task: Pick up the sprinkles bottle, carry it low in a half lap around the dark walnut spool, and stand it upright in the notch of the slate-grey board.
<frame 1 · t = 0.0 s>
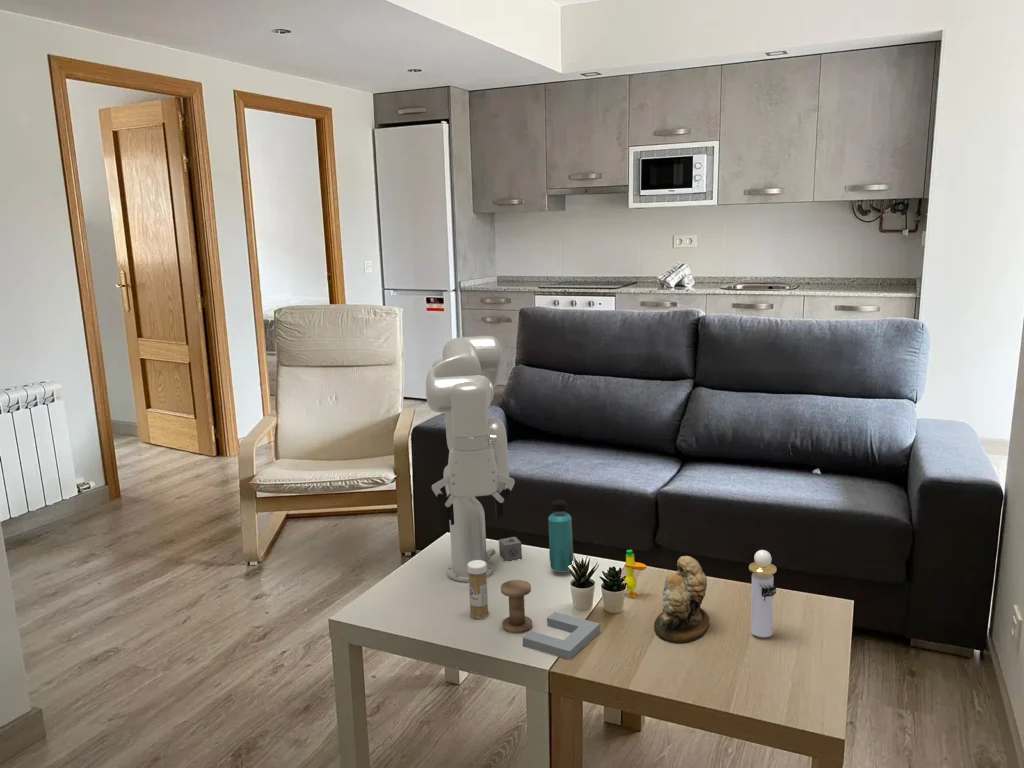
hand: (475, 520, 166), 31 cm above the table, tool pointing down, fingers open, 9 cm apart
notched board: (562, 638, 178), on the table
spool: (517, 626, 185), on the table
perfume bottle: (761, 636, 176), on the table
beverage bottle: (561, 573, 213), on the table
sprinkles bottle: (479, 616, 191), on the table
toy figure: (633, 597, 197), on the table
dice cube: (510, 558, 225), on the table
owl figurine: (682, 626, 182), on the table
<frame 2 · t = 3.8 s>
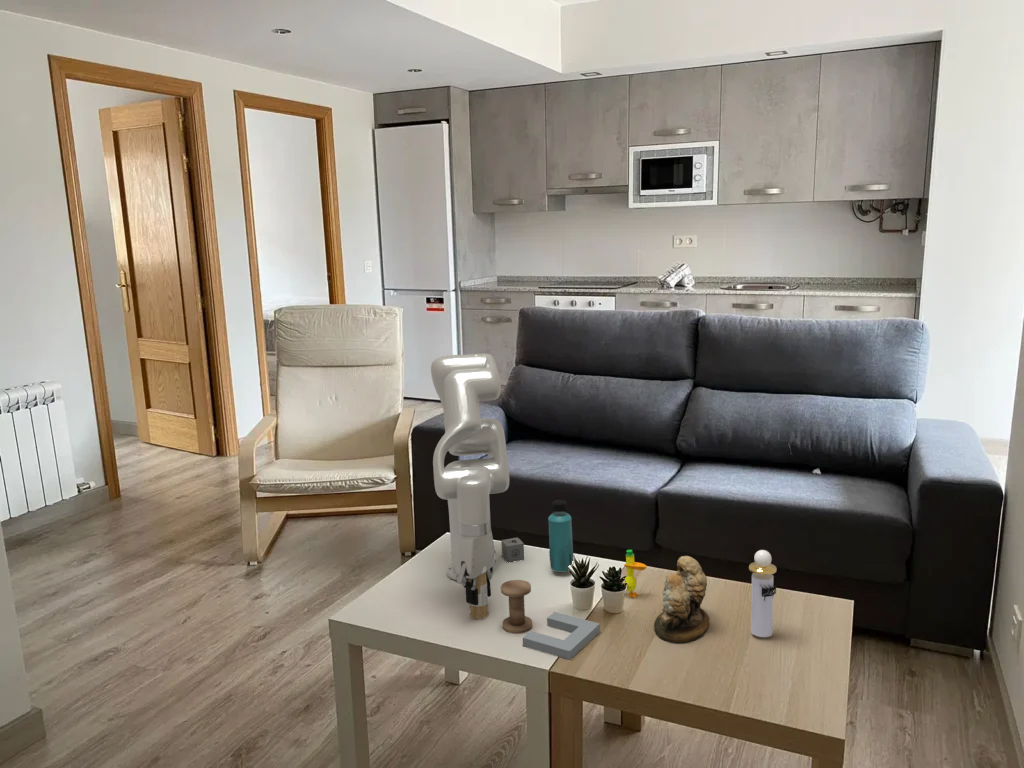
hand: (478, 598, 190), 4 cm above the table, tool pointing down, fingers closed on sprinkles bottle, 4 cm apart
sprinkles bottle: (479, 616, 191), on the table, touching gripper
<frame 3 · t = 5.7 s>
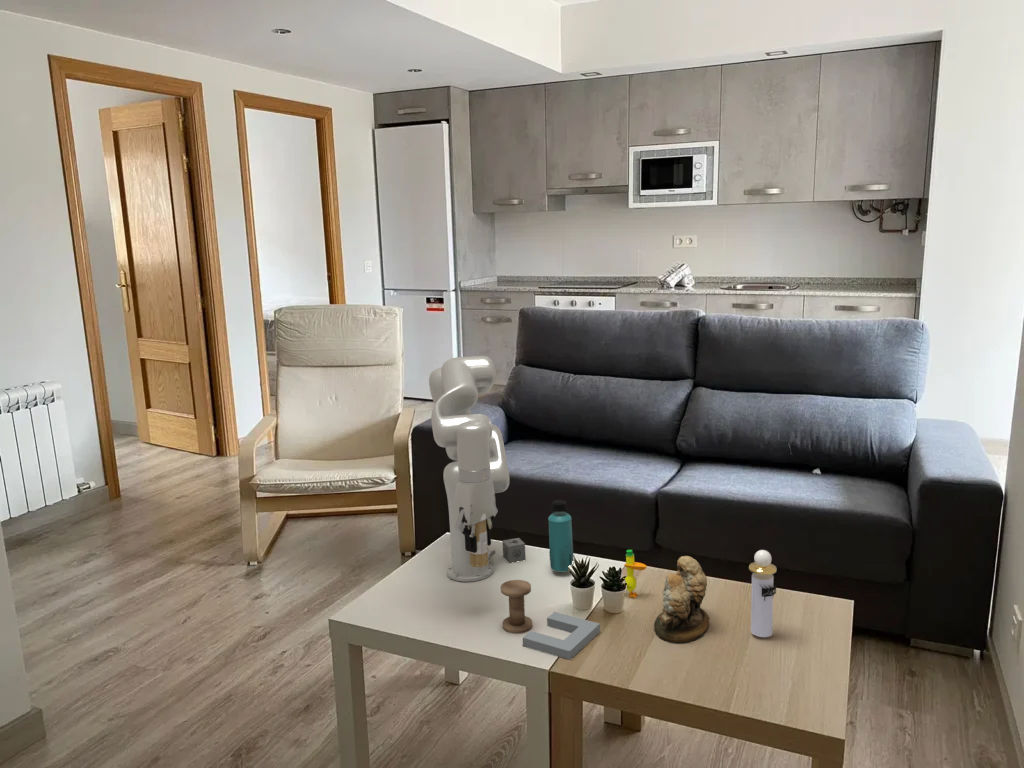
hand: (478, 547, 188), 17 cm above the table, tool pointing down, fingers closed on sprinkles bottle, 4 cm apart
sprinkles bottle: (479, 565, 189), point 13 cm above the table, touching gripper
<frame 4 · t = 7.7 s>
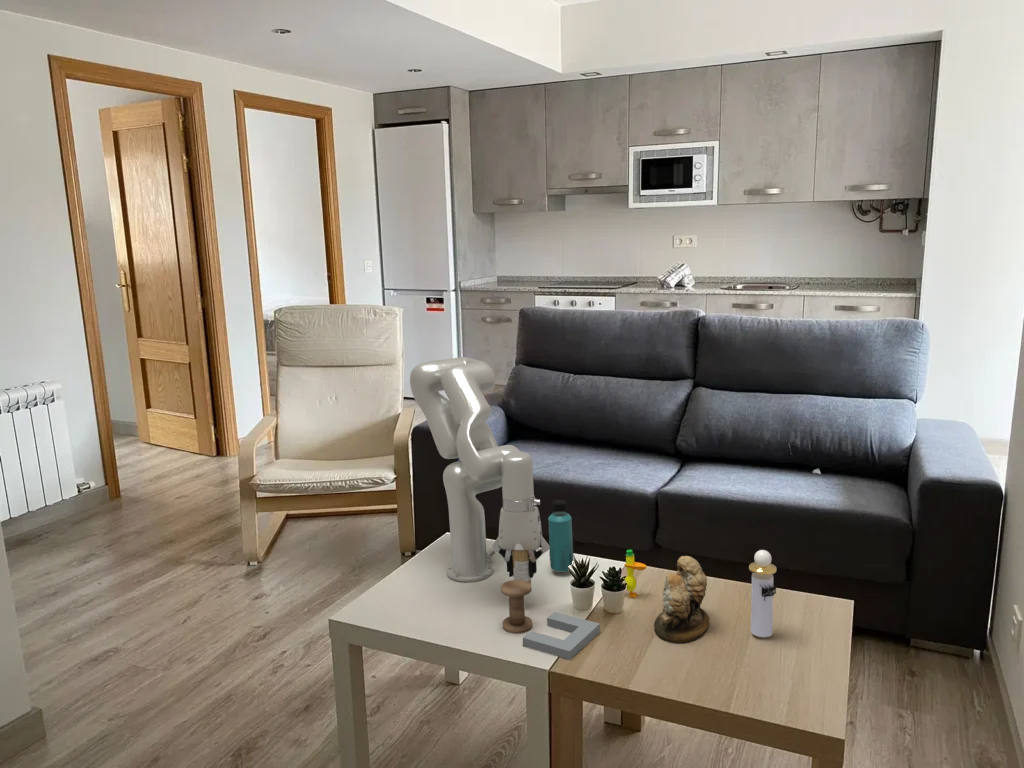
hand: (522, 574, 193), 8 cm above the table, tool pointing down, fingers closed on sprinkles bottle, 4 cm apart
sprinkles bottle: (522, 591, 194), point 4 cm above the table, touching gripper
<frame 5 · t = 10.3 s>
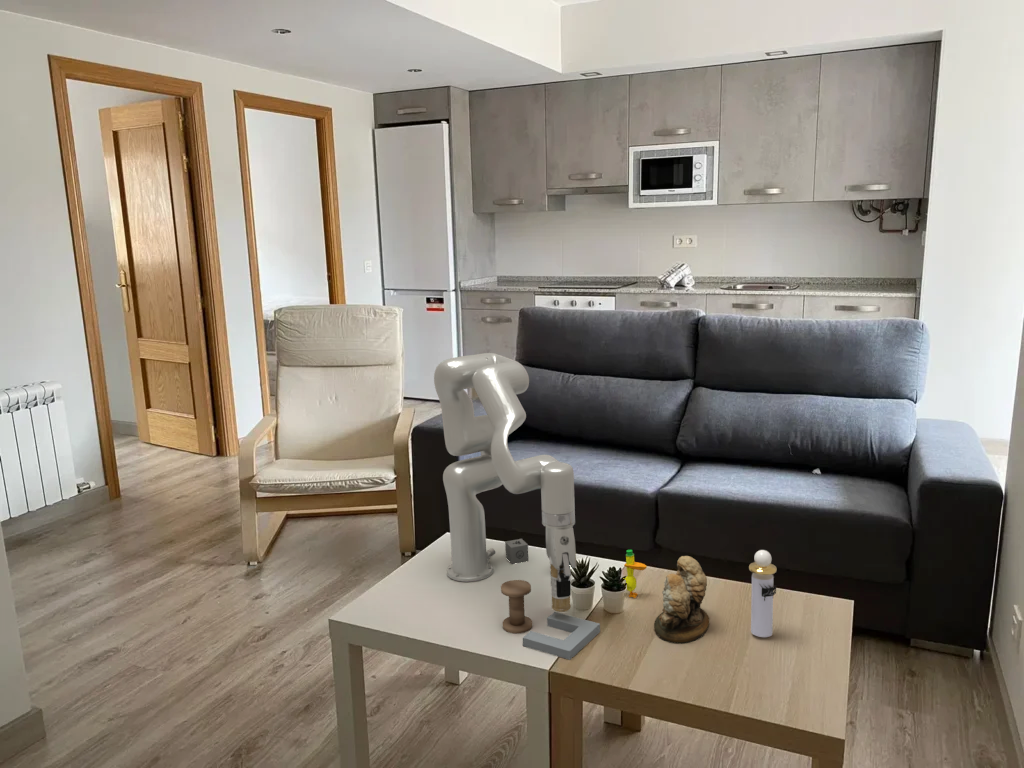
hand: (560, 590, 183), 8 cm above the table, tool pointing down, fingers closed on sprinkles bottle, 4 cm apart
sprinkles bottle: (561, 609, 184), point 4 cm above the table, touching gripper
when the fingers open (6 cm above the table, at t = 12.1 s): sprinkles bottle drops 1 cm, resting in notched board.
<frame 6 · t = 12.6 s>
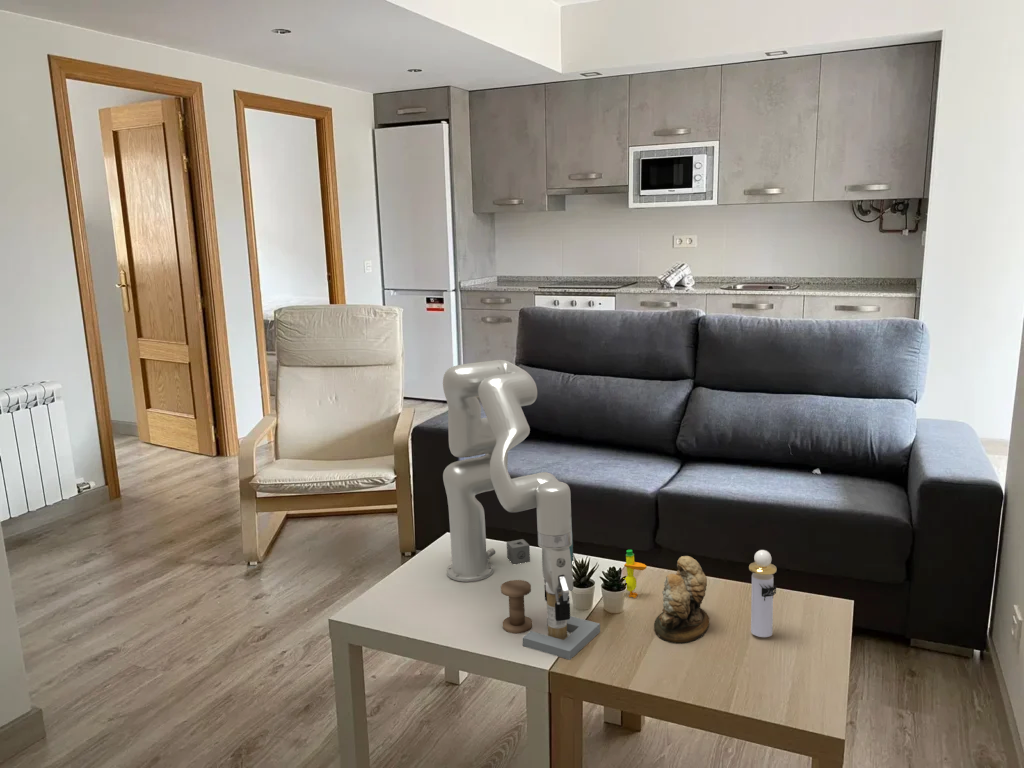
hand: (557, 609, 177), 7 cm above the table, tool pointing down, fingers open, 9 cm apart
sprinkles bottle: (557, 638, 179), resting in notched board
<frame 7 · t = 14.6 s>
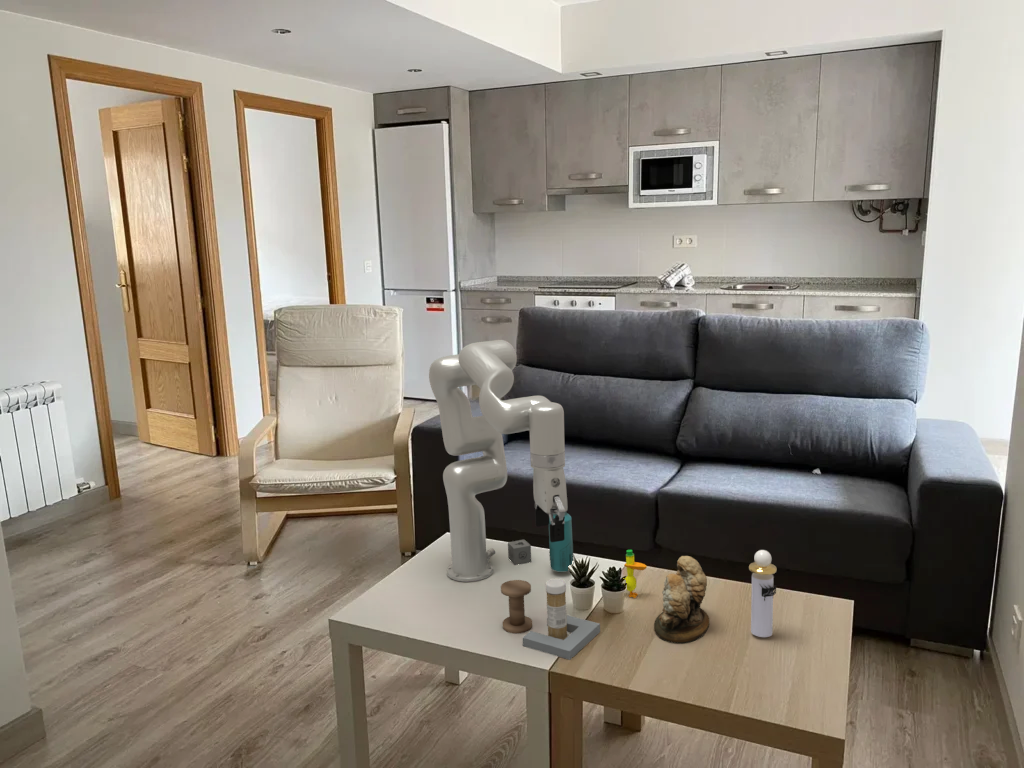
hand: (549, 532, 176), 24 cm above the table, tool pointing down, fingers open, 9 cm apart
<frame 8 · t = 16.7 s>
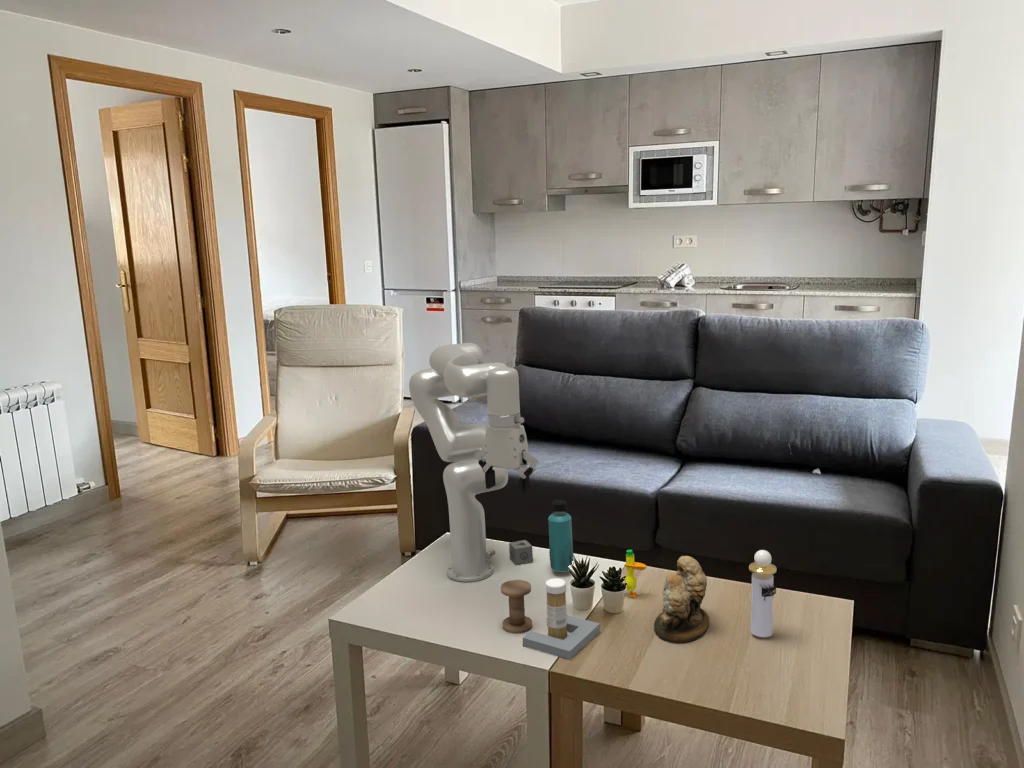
hand: (507, 490, 188), 30 cm above the table, tool pointing down, fingers open, 9 cm apart
at the end: sprinkles bottle 0.1 cm from the target spot on the notched board, point 0.0 cm above the notched board's base; sprinkles bottle tilted 0°; the gripper is holding nothing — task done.
